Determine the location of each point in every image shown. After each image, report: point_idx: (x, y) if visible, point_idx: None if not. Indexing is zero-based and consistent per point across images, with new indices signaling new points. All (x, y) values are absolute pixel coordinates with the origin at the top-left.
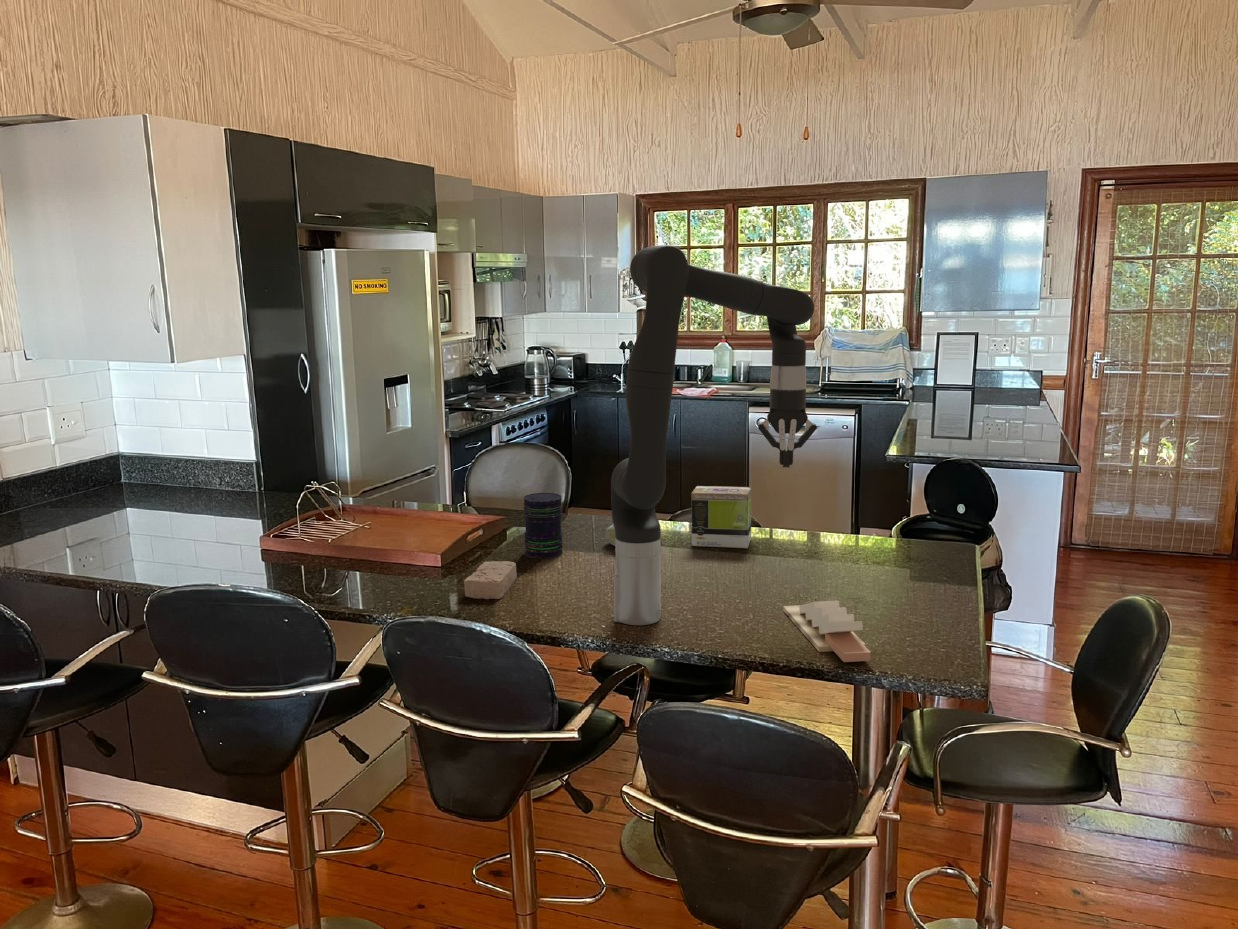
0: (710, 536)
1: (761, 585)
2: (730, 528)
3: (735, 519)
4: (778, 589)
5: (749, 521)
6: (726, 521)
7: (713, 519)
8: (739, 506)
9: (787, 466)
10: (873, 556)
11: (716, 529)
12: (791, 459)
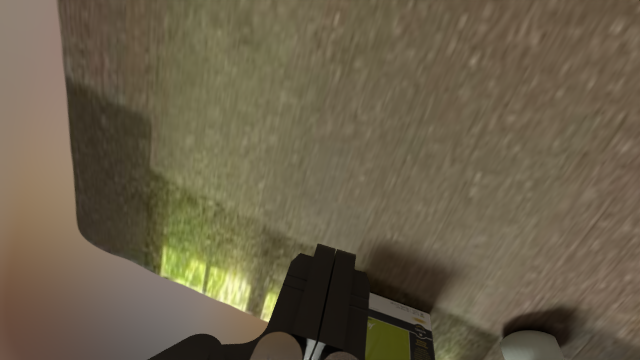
0: (405, 318)
1: (391, 137)
2: (376, 320)
3: (368, 331)
4: (368, 112)
5: None
6: (382, 333)
7: (402, 342)
8: None
9: (329, 247)
10: (192, 224)
11: (397, 325)
12: (294, 280)
